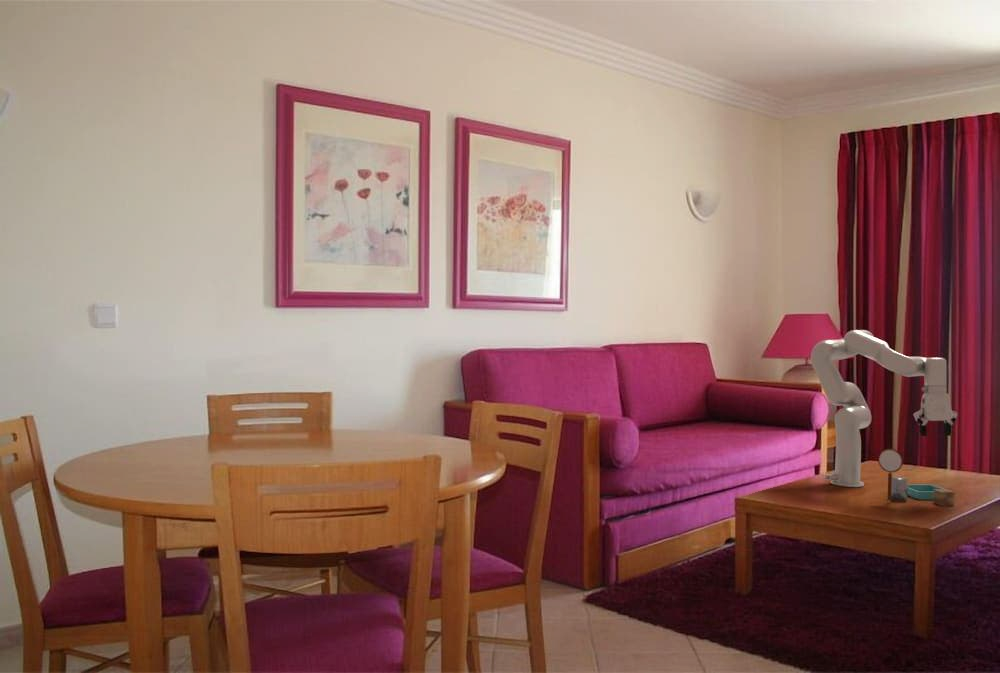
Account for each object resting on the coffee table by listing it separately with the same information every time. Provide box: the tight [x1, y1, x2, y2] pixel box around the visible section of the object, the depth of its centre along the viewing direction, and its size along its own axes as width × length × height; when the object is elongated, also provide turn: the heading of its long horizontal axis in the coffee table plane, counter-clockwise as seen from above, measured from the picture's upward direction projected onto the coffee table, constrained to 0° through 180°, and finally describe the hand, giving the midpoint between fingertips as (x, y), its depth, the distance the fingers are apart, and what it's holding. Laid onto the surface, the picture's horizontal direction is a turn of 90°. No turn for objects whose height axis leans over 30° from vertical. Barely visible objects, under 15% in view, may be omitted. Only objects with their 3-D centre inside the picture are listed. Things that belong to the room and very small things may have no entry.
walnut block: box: [932, 488, 956, 506], centre depth 328 cm, size 5×5×5 cm
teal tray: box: [907, 484, 944, 501], centre depth 342 cm, size 14×14×3 cm
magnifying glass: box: [877, 448, 904, 503], centre depth 328 cm, size 9×2×20 cm, turn 49°
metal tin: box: [891, 476, 909, 502], centre depth 335 cm, size 6×6×8 cm
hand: (935, 435), depth 336 cm, fingers open, 9 cm apart
